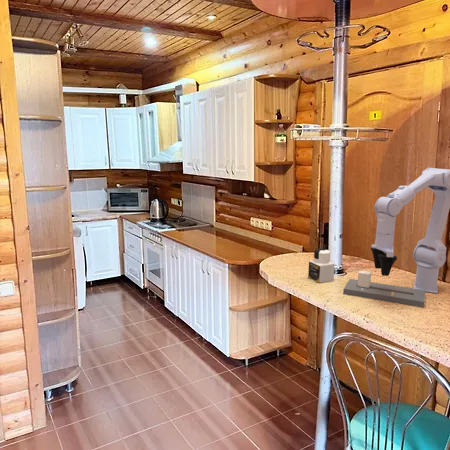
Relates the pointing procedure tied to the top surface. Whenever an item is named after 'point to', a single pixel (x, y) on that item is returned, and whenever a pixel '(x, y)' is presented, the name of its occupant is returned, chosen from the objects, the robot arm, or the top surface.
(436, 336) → the top surface
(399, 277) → the top surface
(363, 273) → the fader tab
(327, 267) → the medicine bottle
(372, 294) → the fader console
